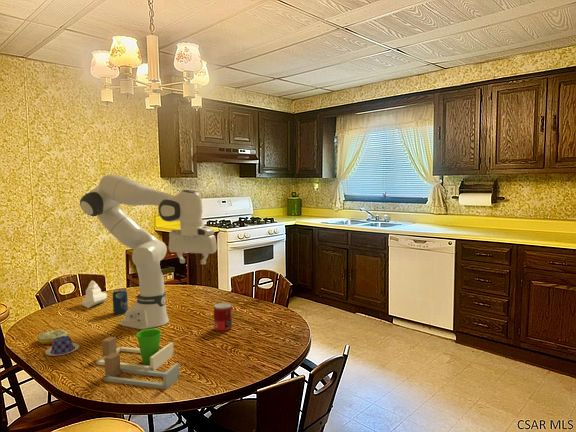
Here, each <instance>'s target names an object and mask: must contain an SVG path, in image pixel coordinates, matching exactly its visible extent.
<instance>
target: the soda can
mask: <svg viewBox="0 0 576 432" xmlns="http://www.w3.org/2000/svg"><path fill="white" fill-rule="evenodd" d="M128 304H129V303H128V292H127V290H126V288H117V289H114V290H113V292H112V311H113V314H115V315H116V314H117V315H118V316H120V315H124V314H126V311H127V310H128V309H129V305H128Z"/></svg>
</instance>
